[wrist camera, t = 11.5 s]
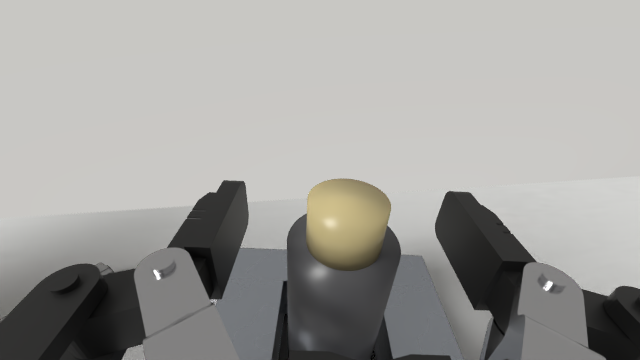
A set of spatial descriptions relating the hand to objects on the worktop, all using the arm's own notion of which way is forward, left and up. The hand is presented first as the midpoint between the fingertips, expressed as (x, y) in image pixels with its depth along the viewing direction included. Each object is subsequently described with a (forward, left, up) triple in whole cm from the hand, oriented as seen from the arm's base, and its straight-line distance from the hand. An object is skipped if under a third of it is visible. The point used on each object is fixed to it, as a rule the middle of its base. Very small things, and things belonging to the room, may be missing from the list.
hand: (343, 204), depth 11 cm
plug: (0, -1, -11) cm, 11 cm away
